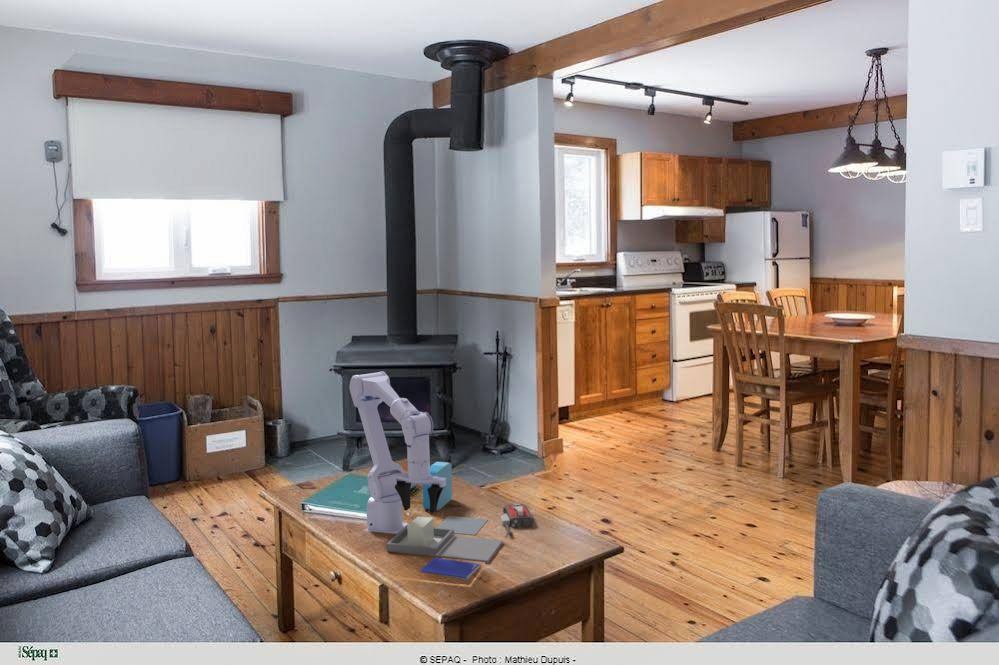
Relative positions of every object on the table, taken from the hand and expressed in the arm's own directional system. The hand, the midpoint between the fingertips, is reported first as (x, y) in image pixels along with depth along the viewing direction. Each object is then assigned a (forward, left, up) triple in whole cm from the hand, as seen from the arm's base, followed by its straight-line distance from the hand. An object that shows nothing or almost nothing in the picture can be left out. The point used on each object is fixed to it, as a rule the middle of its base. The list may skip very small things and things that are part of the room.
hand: (420, 510), depth 206 cm
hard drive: (+13, -13, -10) cm, 21 cm away
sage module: (0, 0, -9) cm, 9 cm away
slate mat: (+6, +15, -10) cm, 19 cm away
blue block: (-7, +31, -10) cm, 33 cm away
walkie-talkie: (+20, +21, -10) cm, 31 cm away
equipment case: (+7, 0, -10) cm, 12 cm away
